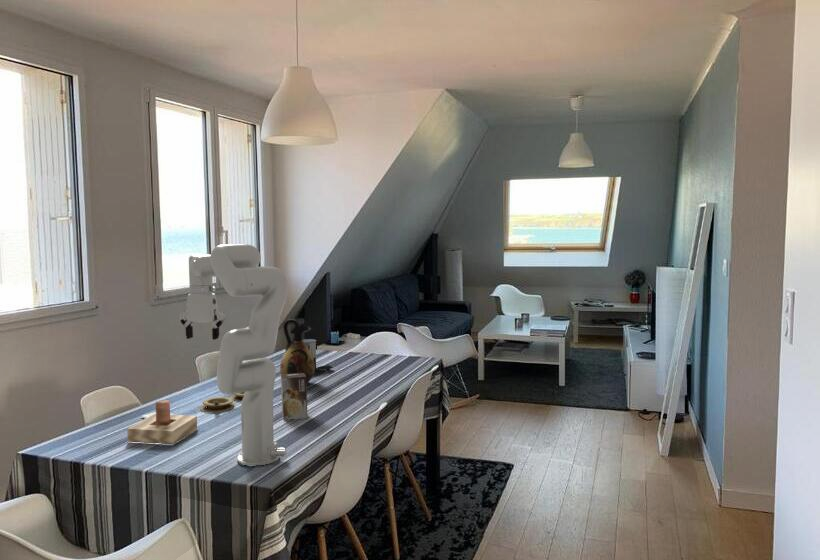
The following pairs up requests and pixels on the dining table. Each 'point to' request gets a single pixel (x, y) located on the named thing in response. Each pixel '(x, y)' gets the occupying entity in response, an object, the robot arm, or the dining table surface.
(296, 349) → the ceramic jug
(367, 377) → the dining table surface
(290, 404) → the coffee box
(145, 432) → the socket block
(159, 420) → the peg
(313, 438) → the dining table surface
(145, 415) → the external hard drive
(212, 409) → the tableware set
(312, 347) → the milk frother
